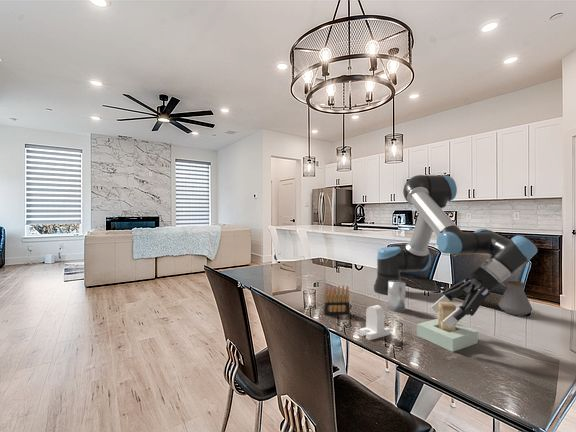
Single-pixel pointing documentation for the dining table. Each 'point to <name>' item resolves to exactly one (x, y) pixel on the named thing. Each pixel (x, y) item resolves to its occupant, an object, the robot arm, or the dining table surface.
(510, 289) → the coffee pot
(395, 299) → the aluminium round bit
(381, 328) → the cable organizer
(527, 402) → the dining table surface
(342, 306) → the ammunition clip
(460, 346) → the socket block
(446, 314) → the oak square bit
